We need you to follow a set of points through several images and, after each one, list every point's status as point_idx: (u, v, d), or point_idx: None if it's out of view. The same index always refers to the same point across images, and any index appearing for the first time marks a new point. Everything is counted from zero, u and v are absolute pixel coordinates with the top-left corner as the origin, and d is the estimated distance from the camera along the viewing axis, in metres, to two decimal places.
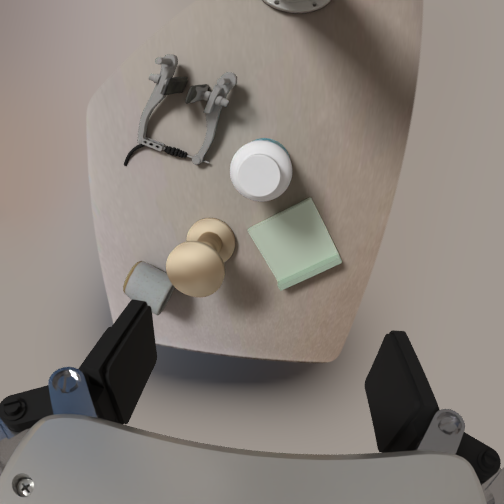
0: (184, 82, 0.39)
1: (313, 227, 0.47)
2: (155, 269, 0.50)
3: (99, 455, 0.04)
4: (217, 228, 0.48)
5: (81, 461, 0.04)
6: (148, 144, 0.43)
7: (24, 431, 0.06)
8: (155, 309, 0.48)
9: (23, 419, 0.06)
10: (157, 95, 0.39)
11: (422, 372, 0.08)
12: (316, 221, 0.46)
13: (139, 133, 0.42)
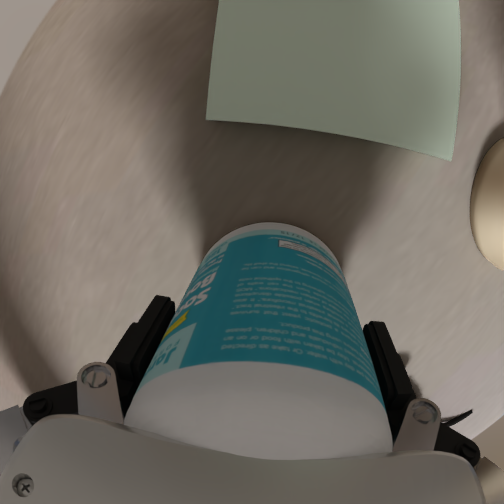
0: None
1: (258, 27, 0.10)
2: None
3: (99, 455, 0.04)
4: (494, 226, 0.12)
5: (81, 461, 0.04)
6: None
7: None
8: None
9: (50, 416, 0.06)
10: None
11: (398, 361, 0.09)
12: (234, 41, 0.10)
13: None
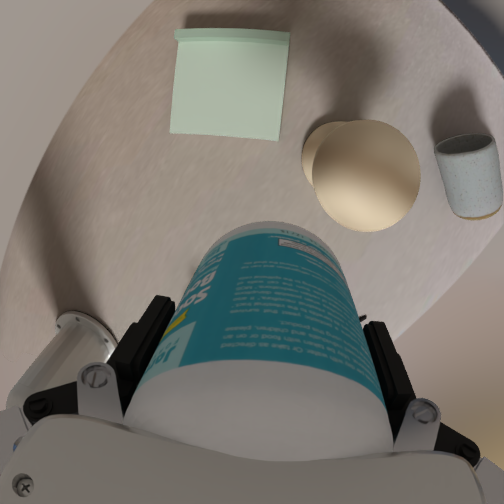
0: None
1: (189, 93, 0.27)
2: (445, 187, 0.27)
3: (99, 455, 0.04)
4: None
5: (81, 461, 0.04)
6: None
7: None
8: (489, 153, 0.21)
9: (50, 416, 0.06)
10: None
11: (398, 361, 0.09)
12: (180, 99, 0.27)
13: None
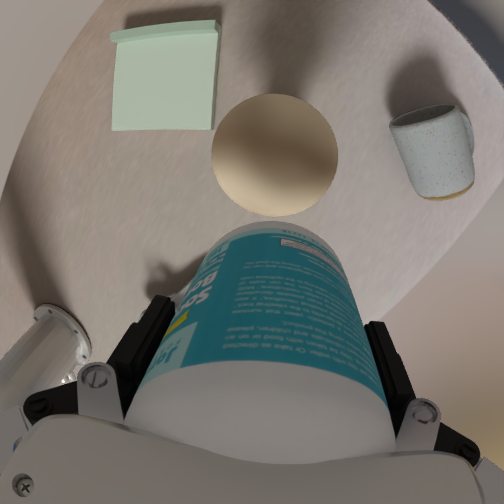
0: None
1: (127, 91, 0.26)
2: (405, 164, 0.25)
3: (99, 455, 0.04)
4: None
5: (81, 461, 0.04)
6: None
7: None
8: (449, 121, 0.19)
9: None
10: None
11: (398, 361, 0.09)
12: (119, 98, 0.27)
13: None
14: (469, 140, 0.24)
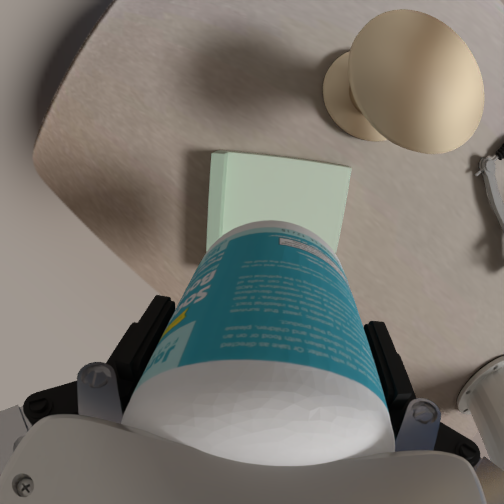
0: None
1: None
2: None
3: (99, 455, 0.04)
4: None
5: (81, 461, 0.04)
6: None
7: None
8: None
9: None
10: None
11: (398, 361, 0.09)
12: None
13: None
14: None
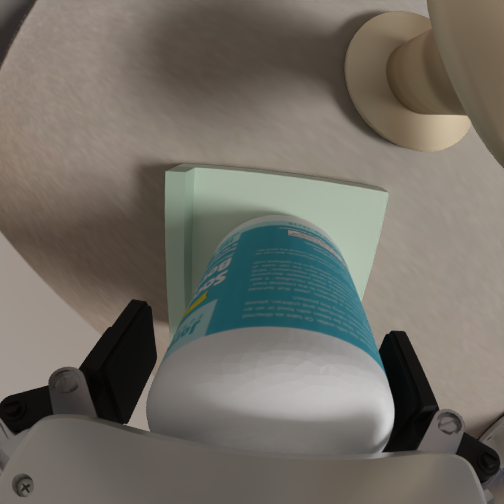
0: None
1: None
2: None
3: (99, 455, 0.04)
4: (440, 128, 0.13)
5: (81, 461, 0.04)
6: None
7: (24, 431, 0.06)
8: None
9: (23, 419, 0.06)
10: None
11: (422, 372, 0.08)
12: None
13: None
14: None
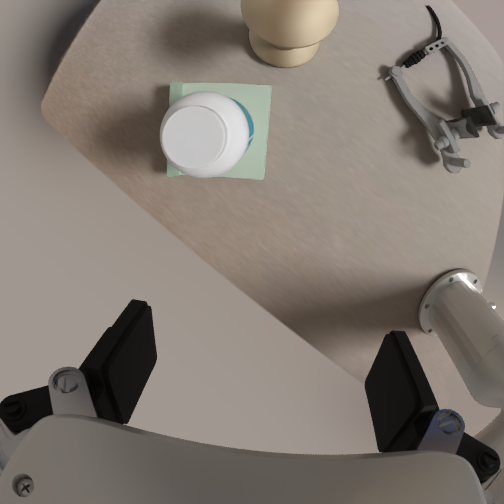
0: None
1: None
2: None
3: (99, 455, 0.04)
4: (297, 55, 0.28)
5: (81, 461, 0.04)
6: (438, 43, 0.25)
7: (24, 431, 0.06)
8: None
9: (23, 419, 0.06)
10: (477, 93, 0.26)
11: (422, 372, 0.08)
12: (233, 170, 0.34)
13: (453, 46, 0.25)
14: None
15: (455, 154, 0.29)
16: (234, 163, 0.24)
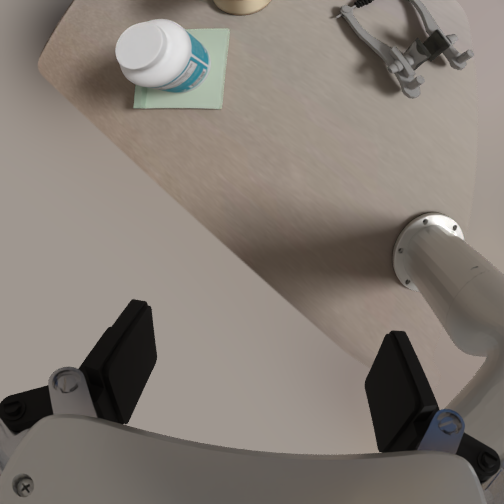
0: None
1: (187, 94, 0.34)
2: None
3: (99, 455, 0.04)
4: (252, 3, 0.28)
5: (81, 461, 0.04)
6: None
7: (24, 431, 0.06)
8: None
9: (23, 419, 0.06)
10: (433, 27, 0.25)
11: (422, 372, 0.08)
12: (192, 101, 0.34)
13: None
14: None
15: (412, 79, 0.29)
16: (176, 70, 0.24)
